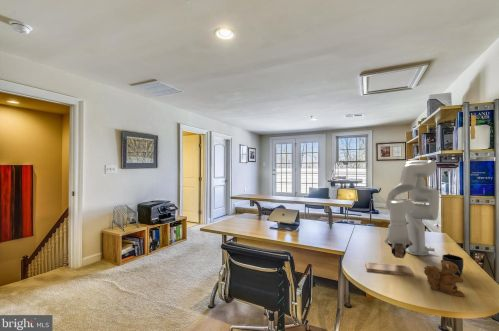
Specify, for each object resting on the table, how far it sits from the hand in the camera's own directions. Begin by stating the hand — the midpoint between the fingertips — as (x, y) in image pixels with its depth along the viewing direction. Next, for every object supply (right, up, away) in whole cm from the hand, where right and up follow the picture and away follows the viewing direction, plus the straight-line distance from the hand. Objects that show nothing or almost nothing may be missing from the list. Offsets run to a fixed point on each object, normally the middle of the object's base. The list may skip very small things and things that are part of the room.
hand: (398, 255), depth 137 cm
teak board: (-8, -7, -4) cm, 12 cm away
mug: (+21, -6, -12) cm, 25 cm away
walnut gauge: (-1, -1, -3) cm, 3 cm away
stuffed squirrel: (+5, -6, -26) cm, 27 cm away
